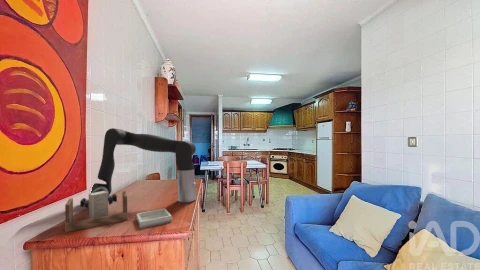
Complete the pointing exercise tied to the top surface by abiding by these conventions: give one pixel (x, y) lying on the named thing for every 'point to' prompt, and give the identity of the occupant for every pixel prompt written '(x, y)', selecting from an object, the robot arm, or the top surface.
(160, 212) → the dish
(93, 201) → the skincare box
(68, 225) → the two-post stand
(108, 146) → the robot arm
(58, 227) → the top surface
